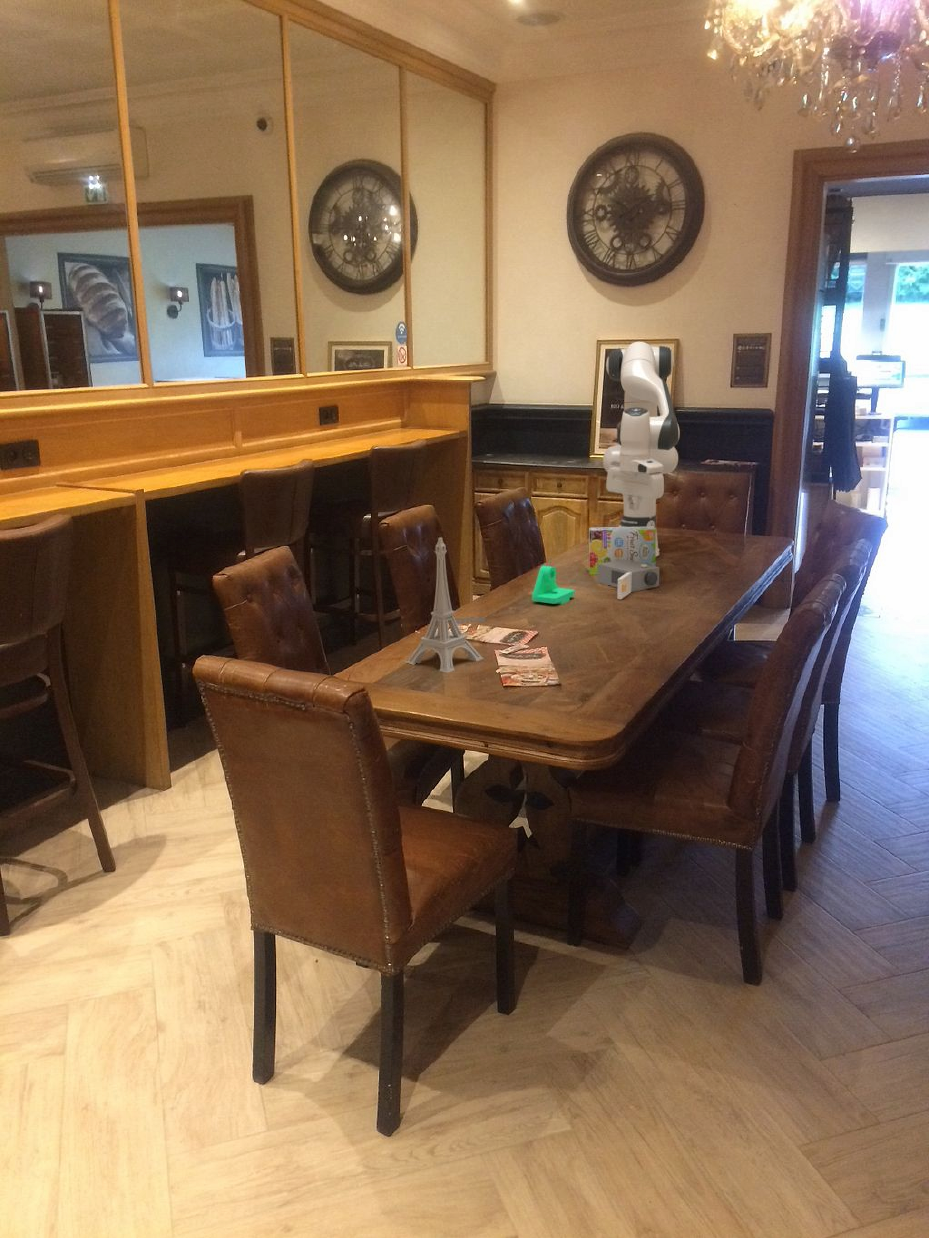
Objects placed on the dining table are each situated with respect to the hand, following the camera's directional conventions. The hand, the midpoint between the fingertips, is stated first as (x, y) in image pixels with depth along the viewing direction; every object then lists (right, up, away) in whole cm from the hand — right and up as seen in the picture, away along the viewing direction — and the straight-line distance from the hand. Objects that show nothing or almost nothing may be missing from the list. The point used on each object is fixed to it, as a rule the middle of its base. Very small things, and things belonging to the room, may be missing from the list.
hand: (633, 509), depth 299 cm
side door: (-3, -26, -6) cm, 27 cm away
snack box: (0, -18, +24) cm, 31 cm away
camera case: (0, -22, +8) cm, 24 cm away
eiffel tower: (-56, -43, -62) cm, 94 cm away
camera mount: (-25, -28, -9) cm, 38 cm away
